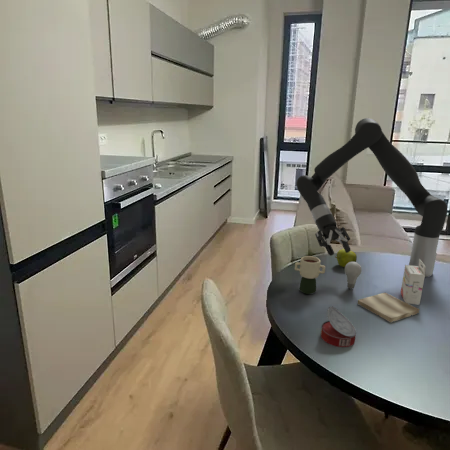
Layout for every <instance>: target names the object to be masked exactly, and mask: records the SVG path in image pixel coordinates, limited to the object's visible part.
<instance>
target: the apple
mask: <svg viewBox="0 0 450 450" xmlns="http://www.w3.org/2000/svg"><path fill="white" fill-rule="evenodd" d="M336 252H337V253H336V256H334V258H336V260H337V263H338V265H339V266H340V267H342V268H345V266H346V264H347V263H349V262H357V253H355V252H354V251H352V250H351V249H350V252H348V253H346V252H345V250H344V248H341V249H339V250H338V251H336Z"/></svg>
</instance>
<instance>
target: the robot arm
mask: <svg viewBox="0 0 450 450" xmlns="http://www.w3.org/2000/svg"><path fill="white" fill-rule="evenodd" d="M367 149H369V150H370V151H371V152H372V154H374V156H375V158H376V160H377V162H378V163H379V165H380V167H381V168H382V169H383V171H384V172H385V174H386V175H387V176H388V178H389V179H390V180H391V181H392V182H393V183H394V184H395V185H396V186H397V188H398V189H400V190H401V192H403V194H404V195H405V196H406V197H407V199H408V200H409V201H410V203H411V204H412V207H414V209H415V211H416V212H417V214H418V215H420V216H421V218H422V219H421V222H420V225H416V227H415V230H414V234H413V239H412V247H411V252H410V257H409V261H408V262H409V263H408V265H411V266H419V259H420V260H421V261H422V262H423V264H424V265H425V267H426V268H425V278H427V277H429V278H430V277H431V276H432V275H433V274H434V271H435V270H434V269H435V264H436V259H437V255H438V254H437V250H438V244H439V240H440V239H439V238H440V235H441V232H442V231H443V230H444V226H445V222H446V218H447V215H448V205H447V203H446V202H445V200H443V199H441V198H439V197H436V196H434V195H432V194H431V193H430V192H429V191H428V190H427V189H426V188H425V186H424V185H422V183H421V180H420V178H419V176H418V175H419V174H418V172H417V170H416V169H415V168H414V166H413V165H412V164H411V163H410V160H409V159H408V158H407V157H406V156H405V155H404V154H403V153H402V152H401V151H400V150H399V149H398V148H397V147H395V145H394V144H393V143H392V142H390V140H389V139H388V138H387V136H386V135H385V134H384V132H383V129H382V127H381V125H380V124H379V122H378V121H377V120H375V119H373V118H369V117H368V118H367V117H366V118H362V119H360V120H359V121H358V122H357V124H356V125H355V127H354V134H353V136H352V137H351V138H350V139H349V140H348V141H347V142H346V143H345V144H344V145H342V146H341V147H340V148H338V149H336V150H334V151H333V152H331V153H330V154H329V155H327V156H326V157H325V158H324V159H322V161H320V162H319V163H318V164H317V165H316V166H315V167H314V170H313V171H314V173H313V174H312V176H309V175H305V174H303V175H300V176H299V177H298V178H297V180H296V189H297V191H298V193H299V194H300V196H301V197H302V198H303V200H304V202H306V204H307V206H308V209H309V210H310V214H311V216H312V219H313V220H314V223H315V225H316V227H317V230H318V231H316V232H315V234H314V235H315V238H316V240H317V242H318V244H319V247H321V248H322V247H324V248H325V250H326V251H327V253H328V255H329V256H333V255H334V254H335V250H334V249H333V247H332V245H331V241H336V242H339V243H340V244H341V245H342V247H343V248H342V249H344V250H345V252H346V253H348V252H350V250H351V247H350V245H349V241H350V240H351V238H350V236H349V233H348V232H347V230H346V229H345V227H344V226H342V227H341V228H338V226H337V225H338V224H337V223H338V222H337V221H336V218H335V217H334V215H333V213H332V211H331V209H330V207H329V206H328V204H327V202H326V200H325V198H324V196H323V195H322V194H321V193H320V192H318V191H319V190H320V189H321V188H322V187H323V186H324V184H325V182H326V181H327V180H328V179H329V178H330V177H331V176H333V175H334V174H335V173H336V172H337V171H338V170H340V168H342V167H343V166H344V165H345V164H347V163H348V162H349V161H350V160H352V159H353V158H355V156H357V155H359V154H360V153H361V152H363V151H365V150H367ZM421 266H422V265H421ZM422 268H423V266H422Z"/></svg>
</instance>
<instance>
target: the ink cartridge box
mask: <svg viewBox="0 0 450 450" xmlns="http://www.w3.org/2000/svg"><path fill="white" fill-rule="evenodd" d="M421 265H422V266H423V268H422V266H421ZM425 268H426V267H425V265H424V264H423V262H422V261H421V260H420V259H419V266H411V265H409V264H405V265H404V271H403V278H402V282H401V287H400V288H401V289H400V295H401V297H402V299H403V302H405V303H408V304H410V305H418V306H419V305H421V300H422V299H421V298H422V294H423V286H424V283H425V278H426V277H425Z"/></svg>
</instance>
